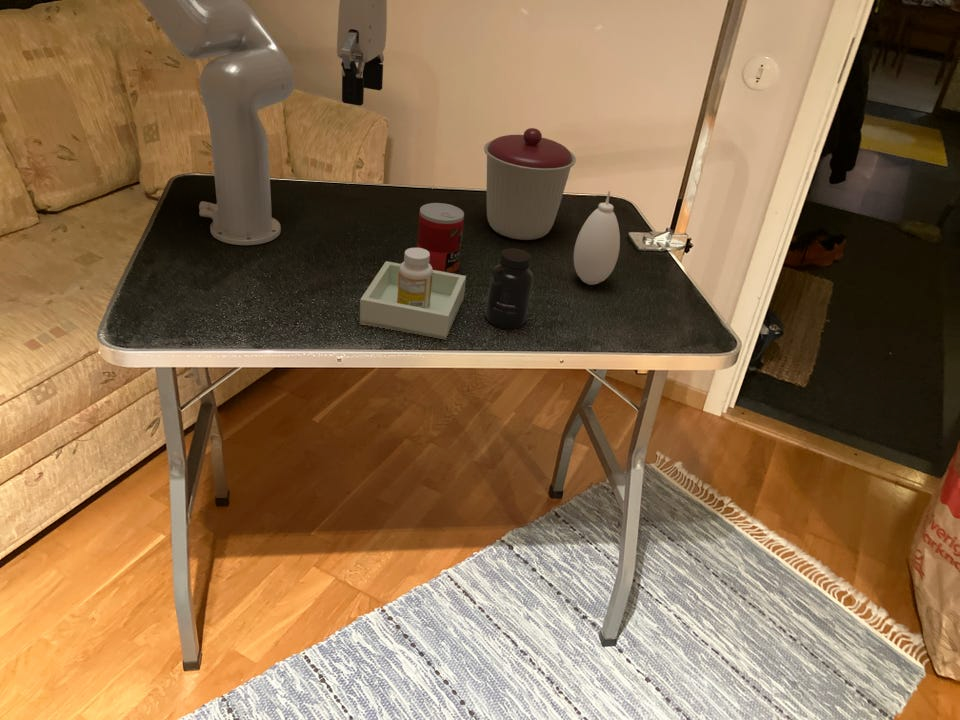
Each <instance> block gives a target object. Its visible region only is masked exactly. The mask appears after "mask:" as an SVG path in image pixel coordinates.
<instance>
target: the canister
mask: <svg viewBox="0 0 960 720" xmlns="http://www.w3.org/2000/svg"><path fill="white" fill-rule="evenodd" d="M483 150H484V153H485V155H486V217H487V222H488V223H489V226H490V227H491V228H492V230H494V232H496V233H497V234H499V235H501V236H504V237H505V238H508V239H513V240H514V239H515V240H520V241H522V240H523V241H531V240H537V239H541V238H543V237H545V236H546V235H547V234H548V233H550V232H551V230H552V227H553V226H554V223H555V220H556V217H557V215H558V211H559V208H560V205H561V203H562V199H563V196H564V195H563V194H564V192H565V188H566V185H567V182H568V179H569V174H570V171H571V168H572V167H573V166H574V165H575V164H576V161H577V159H576V155H575V154H573V153H572V151H570V150H569V149H568V148H567V147H566V146H564V145H563V144H561V143H560V142H557V141H554V140H553V139H549V138H546V137H542V131H540V130H539V129H538V128H535V127H532V128H531V127H529V128H527V129H526V130H525V131H524V132H523V134H507V135H502V136H499V137H495V138H494V139H492V140H490V141H488V142H487V143H486V144H485V145H484V147H483Z"/></svg>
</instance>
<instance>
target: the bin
mask: <svg viewBox="0 0 960 720" xmlns="http://www.w3.org/2000/svg"><path fill="white" fill-rule="evenodd" d="M400 265H401V263H398V262H392V261H387V260H386V261H385V262H384V264H383V265H382V267H381V268H380V270H379V271H378V272H377V274H376V275H375V276H374V278H373V280H372V281H371V283H370V284H369V285H368V287H367V289H366V290H365V292H364V293H363V295H362V297H361V298H360V300H359V325H362V326H366V325H368V327H371V326H373V327H372V328H377V327H379V328H378V329H382V328H385V329H384V330H387V329H391V330H390V331H392V330H397V331H402V332H401V333H403V332H408V333H414V334H419V335H420V334H421V335H425V336H429V337H434V338H440V339H445V340H446V341H447V339H448V337H449V335H448V334H450V332H451V330H450V329H452V328H451V327H453V325H454V323H453V322H455V321H454V320H456V318H457V316H458V314H457V313H459V311H460V309H461V307H460V306H462V304H463V302H464V299H465V290H466V281H467V275H461V274H459V273H458V274H457V273H454V274H453V273H447V272H442V271H436V270H433V275H432V286H431V298H430V307H429V309H426V308H420V307H415V306H410V305H404V304H399V303H397V297H398V279H399V267H400ZM459 308H460V309H459ZM456 315H457V316H456ZM455 317H456V318H455ZM452 324H453V325H452ZM397 331H396V332H397ZM449 331H450V332H449ZM408 333H407V334H408ZM447 336H448V337H447ZM434 338H433V339H434ZM446 338H447V339H446Z"/></svg>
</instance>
